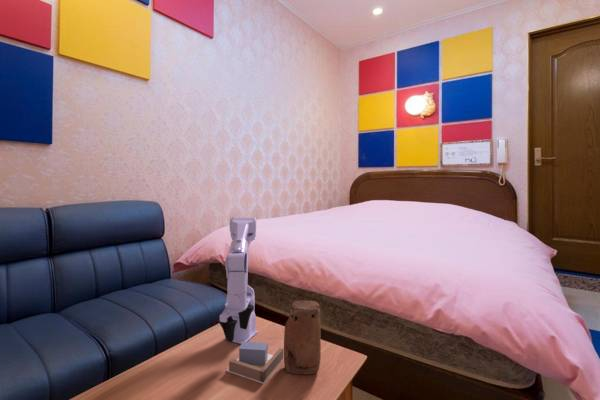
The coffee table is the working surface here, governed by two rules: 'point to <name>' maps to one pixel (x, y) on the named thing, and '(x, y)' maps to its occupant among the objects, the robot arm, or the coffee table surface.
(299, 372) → the brown tall cylinder
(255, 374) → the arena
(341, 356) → the coffee table surface
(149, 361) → the coffee table surface
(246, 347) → the bar
